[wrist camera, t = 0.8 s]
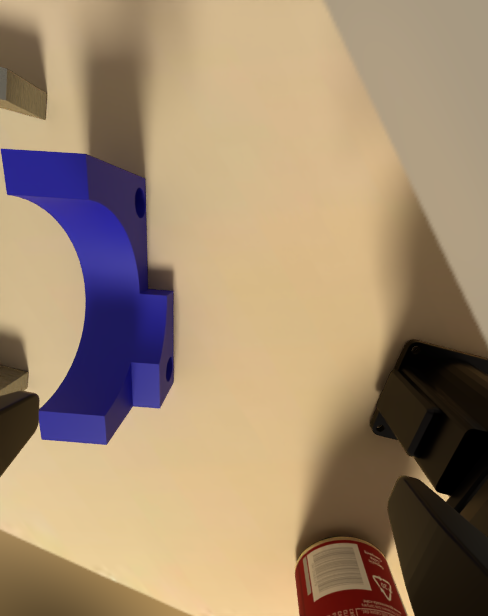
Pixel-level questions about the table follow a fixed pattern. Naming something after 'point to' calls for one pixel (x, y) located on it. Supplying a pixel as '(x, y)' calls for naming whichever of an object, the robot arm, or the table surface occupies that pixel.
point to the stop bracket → (32, 101)
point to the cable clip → (101, 292)
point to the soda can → (346, 580)
